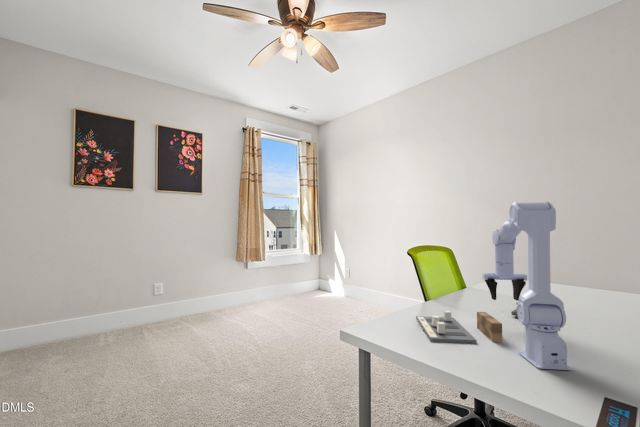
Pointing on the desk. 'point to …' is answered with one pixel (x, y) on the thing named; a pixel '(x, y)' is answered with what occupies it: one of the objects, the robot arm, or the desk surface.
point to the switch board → (452, 331)
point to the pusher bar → (489, 326)
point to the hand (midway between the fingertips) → (504, 299)
